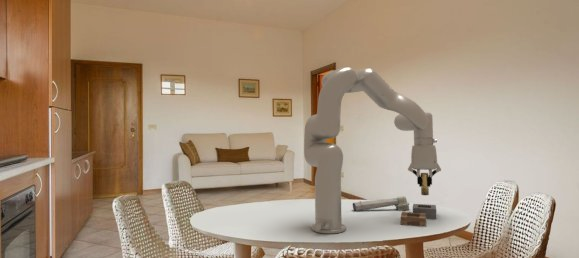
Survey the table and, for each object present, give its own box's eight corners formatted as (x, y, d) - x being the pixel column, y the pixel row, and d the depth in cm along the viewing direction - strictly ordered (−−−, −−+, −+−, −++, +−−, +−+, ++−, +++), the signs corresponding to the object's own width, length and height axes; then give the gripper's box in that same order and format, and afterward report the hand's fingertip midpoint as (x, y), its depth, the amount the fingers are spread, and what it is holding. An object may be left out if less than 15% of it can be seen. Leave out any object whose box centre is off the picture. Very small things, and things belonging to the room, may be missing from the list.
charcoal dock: (436, 219, 147) (436, 209, 147) (412, 217, 150) (412, 207, 150) (435, 214, 156) (435, 204, 156) (413, 213, 159) (413, 203, 159)
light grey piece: (351, 201, 168) (405, 192, 169) (353, 215, 168) (407, 207, 169) (354, 203, 162) (409, 194, 163) (356, 218, 162) (411, 209, 163)
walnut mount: (425, 226, 137) (425, 218, 137) (400, 224, 140) (400, 216, 140) (425, 220, 145) (425, 213, 145) (402, 219, 148) (401, 211, 148)
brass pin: (428, 195, 151) (428, 173, 151) (421, 195, 153) (420, 173, 153) (428, 194, 154) (428, 172, 154) (421, 193, 155) (420, 172, 155)
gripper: (444, 141, 154) (445, 185, 154) (403, 142, 160) (404, 184, 160) (445, 142, 147) (446, 188, 147) (402, 142, 153) (403, 187, 153)
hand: (424, 185), depth 153 cm, fingers closed on brass pin, 3 cm apart
